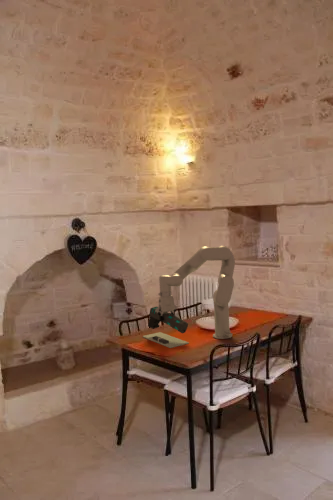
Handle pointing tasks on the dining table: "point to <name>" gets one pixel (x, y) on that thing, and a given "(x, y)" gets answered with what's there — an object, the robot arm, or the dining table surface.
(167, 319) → the gun
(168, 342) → the bound lead
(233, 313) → the dining table surface
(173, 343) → the mat
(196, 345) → the dining table surface
